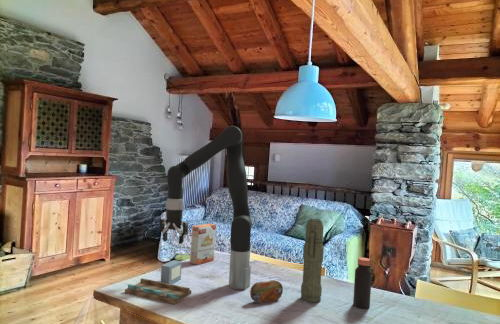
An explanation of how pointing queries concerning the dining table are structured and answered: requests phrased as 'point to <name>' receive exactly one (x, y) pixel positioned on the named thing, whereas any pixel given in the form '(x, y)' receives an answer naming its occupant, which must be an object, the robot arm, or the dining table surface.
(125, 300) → the dining table surface
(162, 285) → the brown flat frame
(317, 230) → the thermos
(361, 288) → the bottle
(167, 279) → the carton
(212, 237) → the cracker box
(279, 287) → the tin
